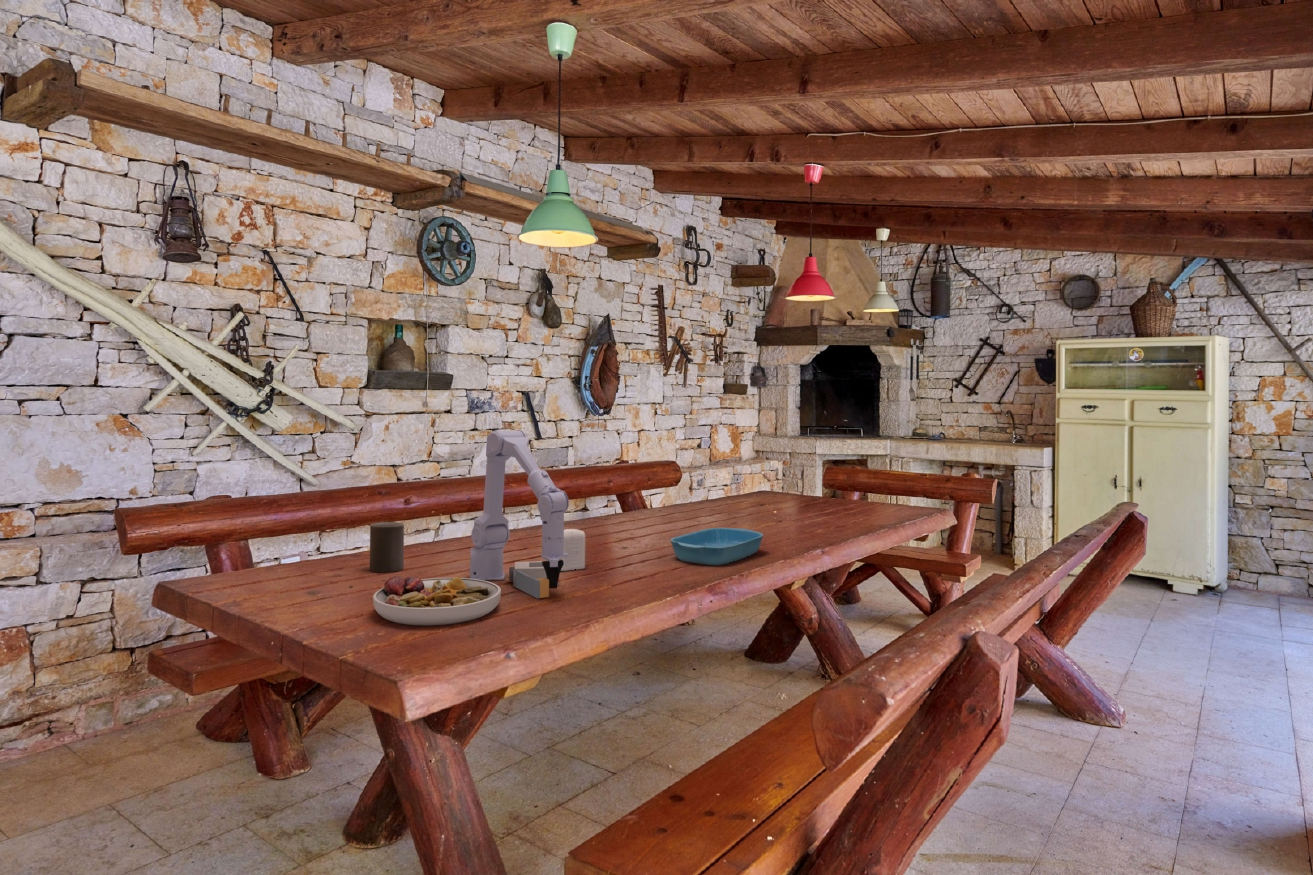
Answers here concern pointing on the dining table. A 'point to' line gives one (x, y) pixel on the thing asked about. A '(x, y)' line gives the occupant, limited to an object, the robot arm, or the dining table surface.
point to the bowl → (435, 600)
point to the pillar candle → (386, 547)
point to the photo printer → (574, 549)
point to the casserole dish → (716, 545)
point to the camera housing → (528, 569)
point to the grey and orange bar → (531, 584)
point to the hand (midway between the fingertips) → (552, 588)
